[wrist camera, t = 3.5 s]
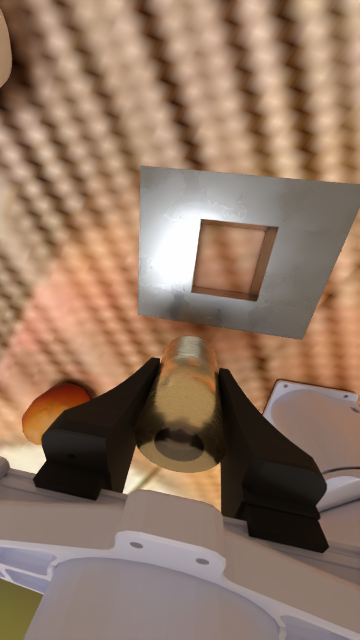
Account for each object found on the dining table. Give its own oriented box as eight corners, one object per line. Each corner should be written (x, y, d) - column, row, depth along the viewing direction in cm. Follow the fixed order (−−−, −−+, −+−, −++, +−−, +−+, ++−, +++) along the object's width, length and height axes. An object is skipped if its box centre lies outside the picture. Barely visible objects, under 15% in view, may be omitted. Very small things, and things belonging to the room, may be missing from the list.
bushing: (220, 340, 14) (235, 422, 7) (211, 383, 15) (216, 481, 9) (165, 332, 14) (133, 403, 8) (162, 375, 16) (134, 463, 9)
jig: (338, 197, 15) (369, 185, 12) (287, 326, 19) (301, 339, 16) (151, 180, 16) (140, 165, 13) (146, 305, 20) (137, 314, 18)
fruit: (32, 371, 25) (11, 425, 19) (94, 369, 29) (93, 413, 22) (33, 408, 28) (15, 465, 22) (88, 402, 32) (86, 449, 26)
